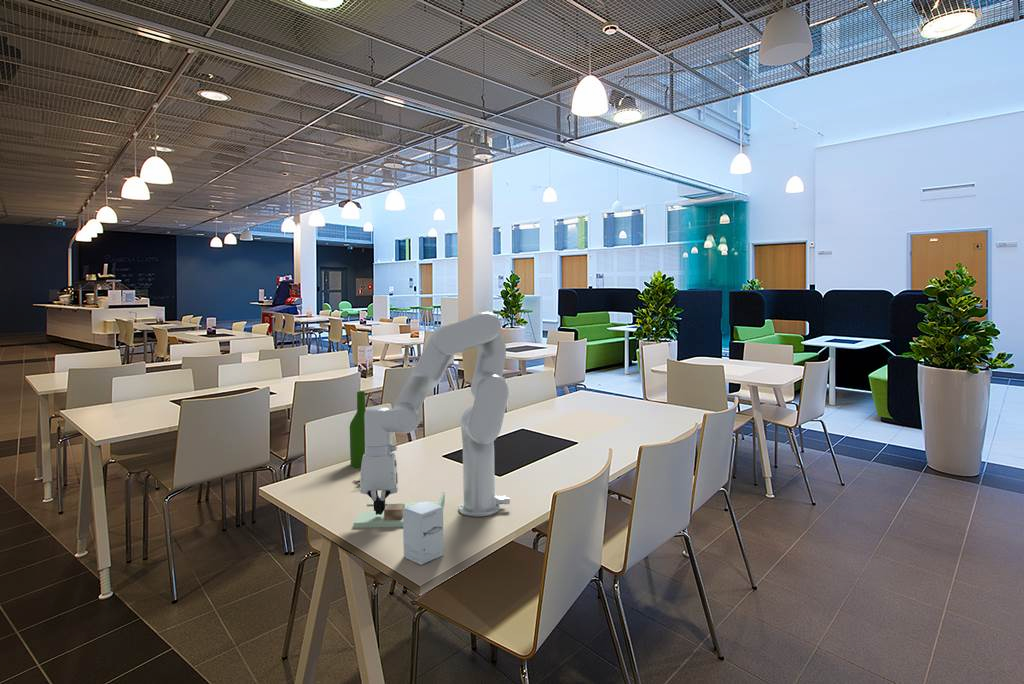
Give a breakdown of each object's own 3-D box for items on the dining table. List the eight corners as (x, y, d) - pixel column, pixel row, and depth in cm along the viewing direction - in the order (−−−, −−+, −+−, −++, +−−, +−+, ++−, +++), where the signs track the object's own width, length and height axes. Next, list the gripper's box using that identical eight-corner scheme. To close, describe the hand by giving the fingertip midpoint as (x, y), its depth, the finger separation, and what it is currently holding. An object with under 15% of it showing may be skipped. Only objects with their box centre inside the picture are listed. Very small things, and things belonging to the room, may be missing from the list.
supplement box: (421, 566, 127) (420, 514, 127) (402, 557, 132) (401, 507, 132) (444, 555, 133) (443, 506, 132) (426, 547, 138) (425, 499, 137)
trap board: (444, 509, 166) (444, 492, 166) (439, 529, 150) (439, 510, 150) (367, 511, 165) (367, 493, 165) (354, 531, 149) (353, 512, 149)
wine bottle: (377, 472, 208) (375, 390, 207) (371, 478, 199) (369, 393, 198) (354, 472, 208) (352, 390, 207) (348, 479, 199) (345, 393, 198)
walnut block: (404, 513, 156) (404, 503, 156) (401, 519, 151) (401, 509, 151) (387, 513, 156) (387, 503, 155) (384, 520, 151) (383, 509, 150)
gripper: (406, 446, 156) (407, 508, 157) (355, 447, 156) (357, 509, 157) (402, 453, 149) (403, 517, 149) (348, 453, 148) (350, 518, 149)
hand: (379, 512), depth 153 cm, fingers closed
